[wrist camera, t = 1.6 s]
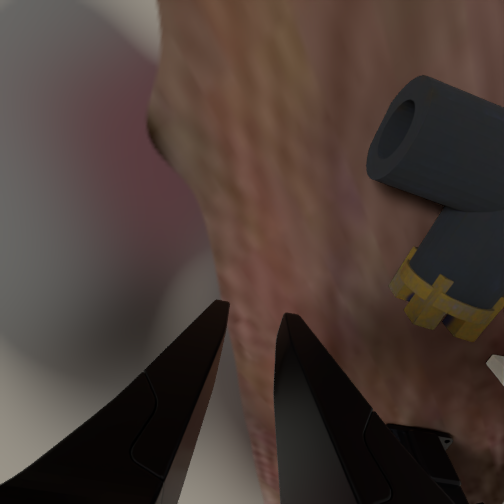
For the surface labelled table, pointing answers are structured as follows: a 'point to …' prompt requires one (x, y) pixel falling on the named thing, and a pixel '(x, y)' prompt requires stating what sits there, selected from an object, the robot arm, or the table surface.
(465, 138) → the pipe connector
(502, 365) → the bay
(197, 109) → the table surface
